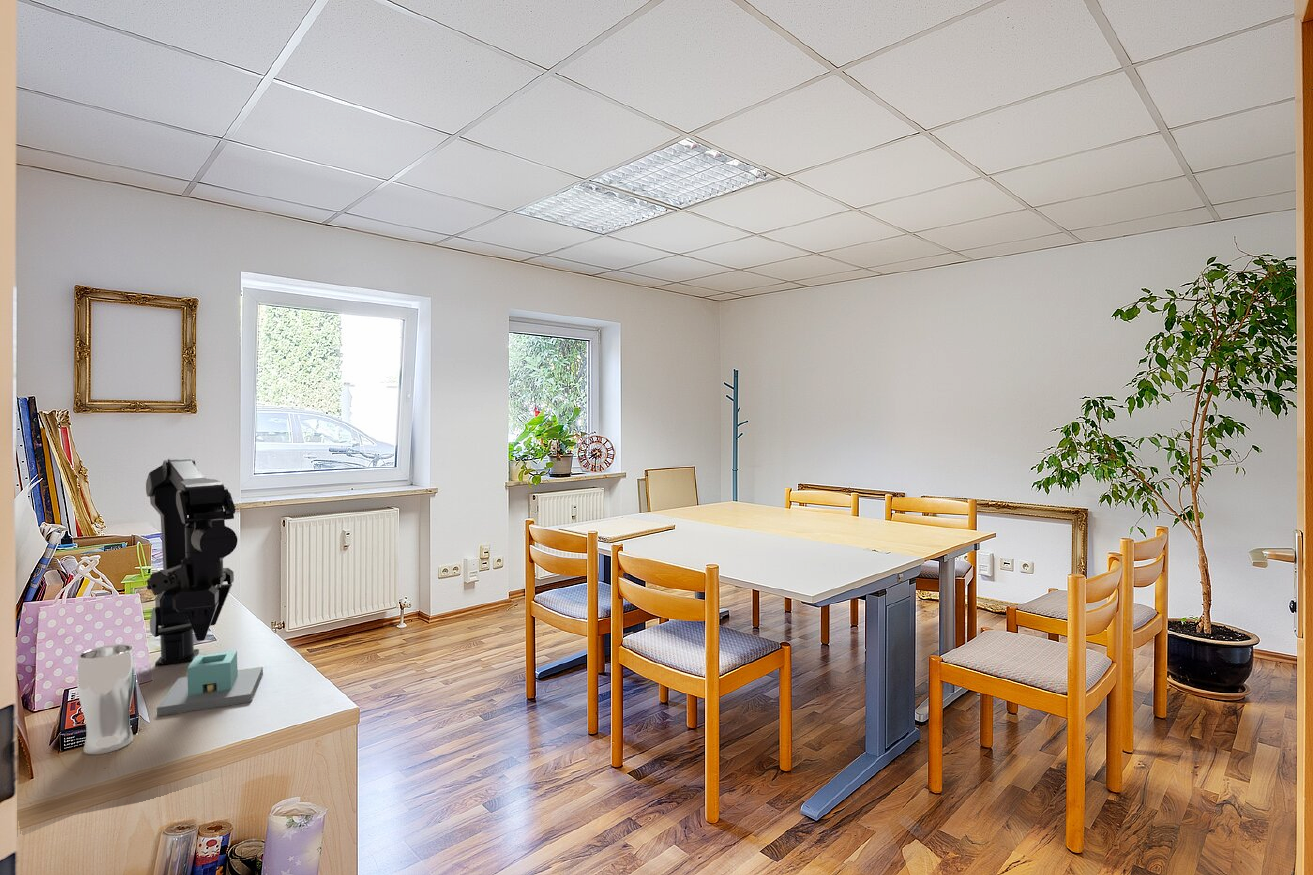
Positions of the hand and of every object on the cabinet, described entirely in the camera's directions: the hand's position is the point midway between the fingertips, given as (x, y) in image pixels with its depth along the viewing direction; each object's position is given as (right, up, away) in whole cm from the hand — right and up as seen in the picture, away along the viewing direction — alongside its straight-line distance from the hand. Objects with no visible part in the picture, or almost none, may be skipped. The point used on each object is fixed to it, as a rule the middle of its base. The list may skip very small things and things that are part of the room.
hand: (206, 632), depth 124 cm
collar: (+2, -10, 0) cm, 10 cm away
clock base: (+2, -11, 0) cm, 11 cm away
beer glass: (-2, -12, -19) cm, 23 cm away
